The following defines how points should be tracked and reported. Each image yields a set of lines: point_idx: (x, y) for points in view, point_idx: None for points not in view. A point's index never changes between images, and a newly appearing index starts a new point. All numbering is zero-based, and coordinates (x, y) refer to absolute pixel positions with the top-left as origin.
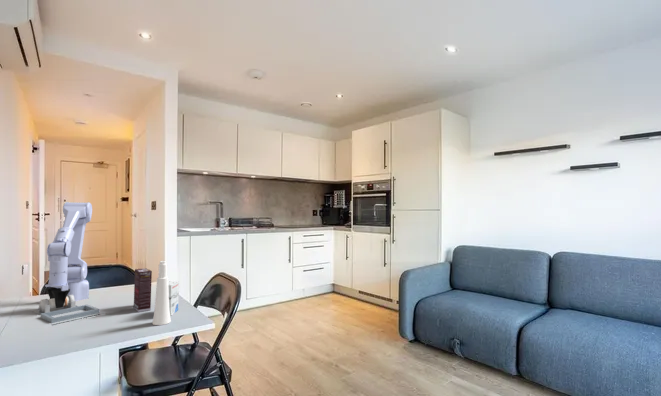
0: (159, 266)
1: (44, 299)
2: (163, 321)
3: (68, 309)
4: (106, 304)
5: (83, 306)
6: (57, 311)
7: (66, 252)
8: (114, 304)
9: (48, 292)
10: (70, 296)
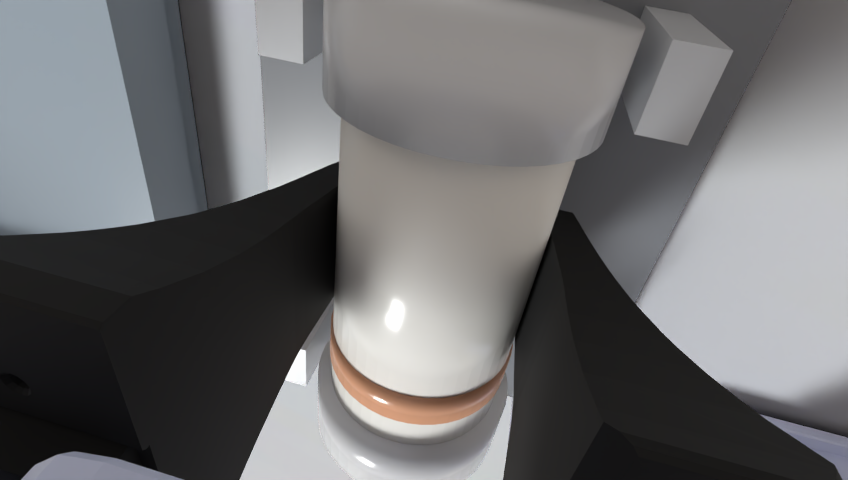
0: None
1: (421, 79)
2: None
3: (116, 172)
4: (298, 463)
5: None
6: (77, 28)
7: None
8: (245, 469)
9: (610, 380)
10: (338, 434)
